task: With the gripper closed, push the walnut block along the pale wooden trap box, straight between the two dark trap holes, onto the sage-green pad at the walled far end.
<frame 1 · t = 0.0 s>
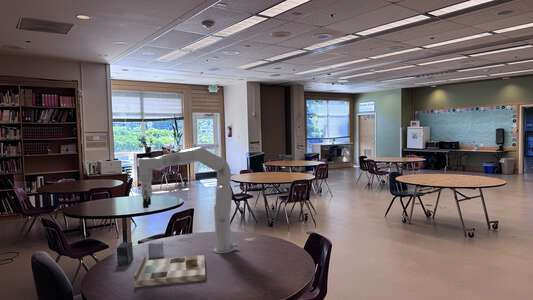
hand: (147, 206, 220), 31 cm above the table, tool pointing down, fingers open, 9 cm apart
trap box: (172, 272, 195), on the table
walnut block: (191, 265, 197), point 3 cm above the table, touching trap box
medicine box: (156, 256, 222), on the table
small box: (125, 262, 214), on the table
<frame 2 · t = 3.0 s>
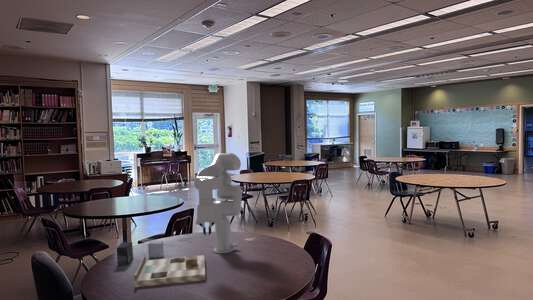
hand: (207, 234, 198), 19 cm above the table, tool pointing down, fingers closed
nothing on the table moved.
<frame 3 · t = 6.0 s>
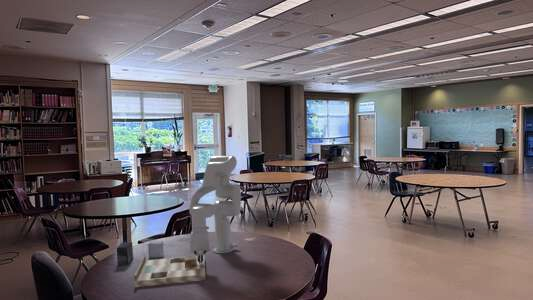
hand: (200, 262, 197), 4 cm above the table, tool pointing down, fingers closed
walnut block: (190, 265, 197), point 3 cm above the table, touching gripper
everything else where it was.
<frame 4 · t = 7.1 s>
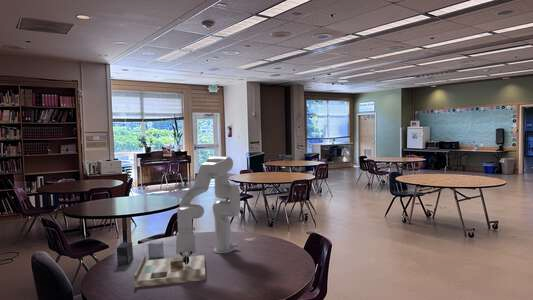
hand: (186, 263, 196), 4 cm above the table, tool pointing down, fingers closed
walnut block: (176, 266, 195), point 3 cm above the table, touching gripper, trap box
everything else where it was.
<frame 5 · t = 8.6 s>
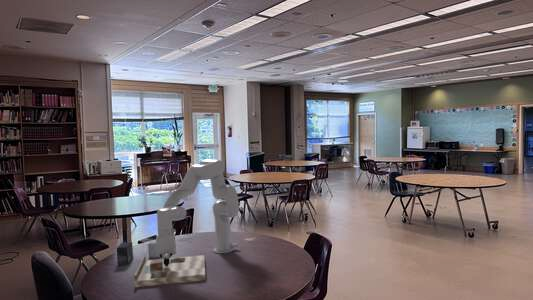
hand: (166, 265, 194), 4 cm above the table, tool pointing down, fingers closed
walnut block: (156, 268, 193), point 3 cm above the table, touching gripper
everything else where it was.
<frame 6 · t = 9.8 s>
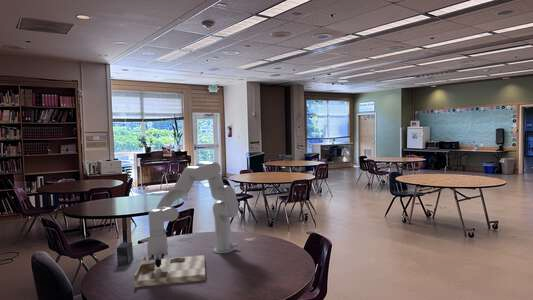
hand: (158, 266, 193), 4 cm above the table, tool pointing down, fingers closed
walnut block: (148, 269, 192), point 3 cm above the table, touching gripper, trap box
everything else where it was.
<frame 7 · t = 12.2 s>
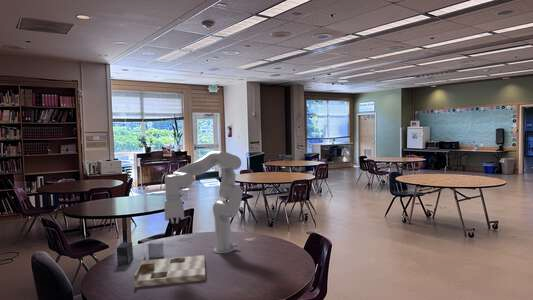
hand: (175, 229, 201), 21 cm above the table, tool pointing down, fingers closed
walnut block: (148, 269, 192), point 3 cm above the table, touching trap box
everything else where it was.
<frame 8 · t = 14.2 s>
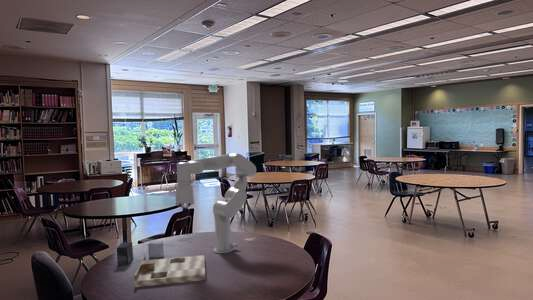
hand: (185, 214, 213), 27 cm above the table, tool pointing down, fingers closed
nothing on the table moved.
at the end: walnut block inside the target area on the trap box (0.4 cm from its centre), point 3.0 cm above the trap box's base; walnut block tilted 0°; walnut block moved 22.6 cm from its start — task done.
